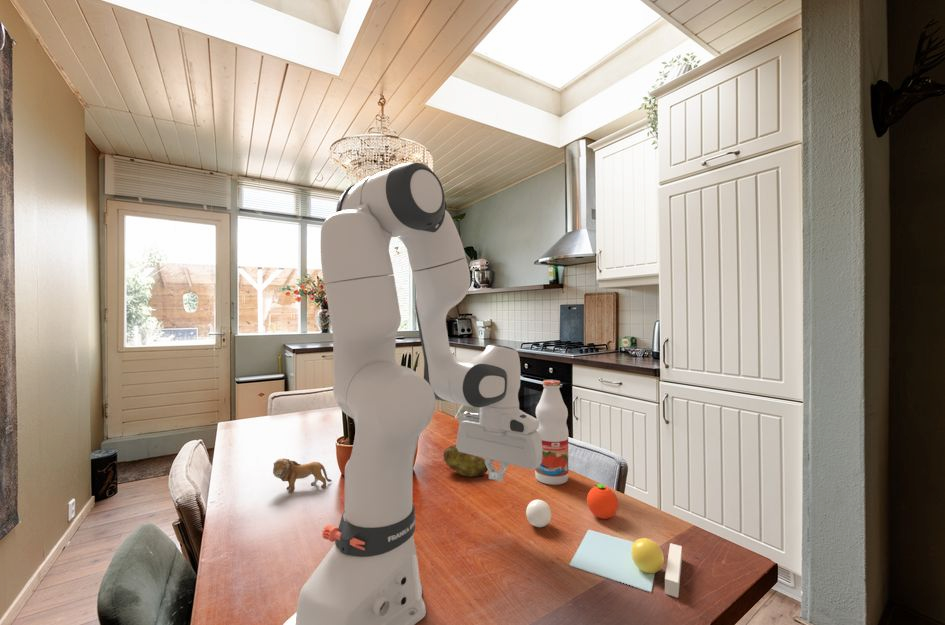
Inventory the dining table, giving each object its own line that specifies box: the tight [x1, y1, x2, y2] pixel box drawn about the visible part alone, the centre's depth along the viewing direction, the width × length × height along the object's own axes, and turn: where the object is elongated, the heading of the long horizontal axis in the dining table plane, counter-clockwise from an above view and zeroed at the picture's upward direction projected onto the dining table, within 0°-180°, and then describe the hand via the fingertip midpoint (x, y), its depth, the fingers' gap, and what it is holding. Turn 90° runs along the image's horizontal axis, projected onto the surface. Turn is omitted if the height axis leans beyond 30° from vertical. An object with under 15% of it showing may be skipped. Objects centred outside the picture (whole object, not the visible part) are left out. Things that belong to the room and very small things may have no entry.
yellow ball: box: [631, 537, 665, 574], centre depth 72 cm, size 6×6×6 cm
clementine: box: [586, 483, 619, 520], centre depth 92 cm, size 8×7×7 cm
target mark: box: [568, 529, 656, 593], centre depth 76 cm, size 14×14×1 cm
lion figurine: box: [272, 458, 332, 494], centre depth 106 cm, size 15×5×9 cm, turn 121°
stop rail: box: [664, 542, 683, 599], centre depth 71 cm, size 12×2×2 cm, turn 149°
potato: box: [443, 444, 489, 478], centre depth 116 cm, size 8×13×8 cm, turn 61°
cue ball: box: [525, 499, 552, 528], centre depth 87 cm, size 6×6×6 cm
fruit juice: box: [534, 379, 569, 486], centre depth 112 cm, size 9×9×28 cm
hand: (495, 479), depth 88 cm, fingers closed
